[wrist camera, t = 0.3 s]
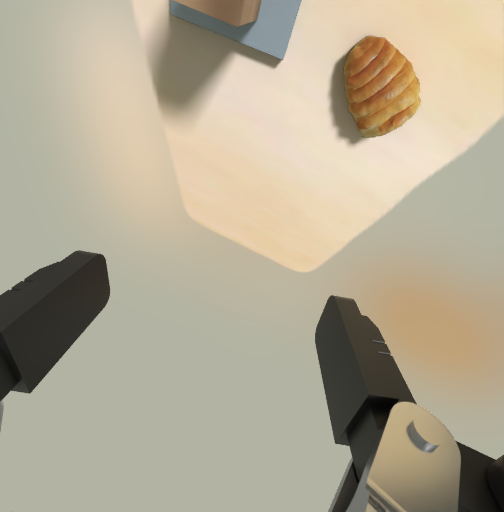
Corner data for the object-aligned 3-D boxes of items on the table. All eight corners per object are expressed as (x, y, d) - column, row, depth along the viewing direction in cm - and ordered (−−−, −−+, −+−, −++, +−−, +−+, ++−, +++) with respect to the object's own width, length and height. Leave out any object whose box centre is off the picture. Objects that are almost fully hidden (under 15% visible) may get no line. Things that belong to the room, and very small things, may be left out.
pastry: (325, 68, 27) (328, 75, 25) (390, 11, 24) (402, 12, 21) (363, 138, 32) (369, 150, 29) (422, 100, 28) (435, 109, 25)
